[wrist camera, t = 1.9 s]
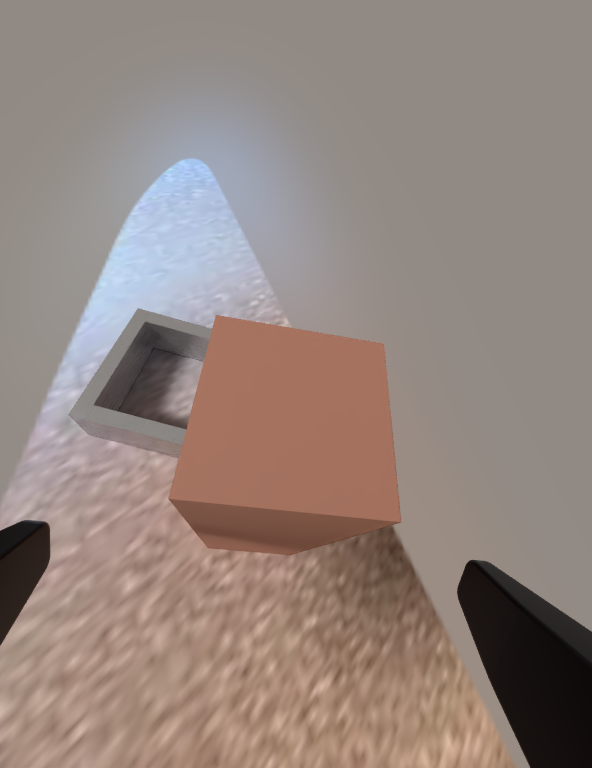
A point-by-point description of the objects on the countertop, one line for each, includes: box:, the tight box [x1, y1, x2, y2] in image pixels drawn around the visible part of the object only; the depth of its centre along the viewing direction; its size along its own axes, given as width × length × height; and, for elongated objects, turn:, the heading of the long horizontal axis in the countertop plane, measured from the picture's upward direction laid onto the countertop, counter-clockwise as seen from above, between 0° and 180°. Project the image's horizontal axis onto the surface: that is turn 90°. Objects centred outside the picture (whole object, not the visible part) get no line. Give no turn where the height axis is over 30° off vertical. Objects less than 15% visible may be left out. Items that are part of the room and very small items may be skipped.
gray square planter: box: [69, 309, 212, 458], centre depth 18 cm, size 7×7×2 cm
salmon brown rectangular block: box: [169, 315, 401, 555], centre depth 12 cm, size 4×4×12 cm
